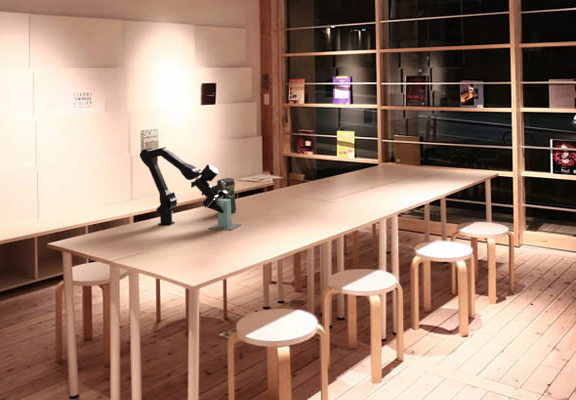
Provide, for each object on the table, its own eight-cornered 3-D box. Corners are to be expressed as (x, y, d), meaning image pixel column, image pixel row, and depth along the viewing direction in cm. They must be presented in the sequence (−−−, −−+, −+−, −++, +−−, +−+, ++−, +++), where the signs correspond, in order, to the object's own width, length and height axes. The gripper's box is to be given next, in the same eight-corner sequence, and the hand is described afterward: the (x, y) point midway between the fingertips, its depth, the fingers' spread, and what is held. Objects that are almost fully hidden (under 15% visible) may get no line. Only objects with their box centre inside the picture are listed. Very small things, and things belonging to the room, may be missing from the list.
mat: (231, 230, 336) (231, 229, 336) (208, 228, 340) (208, 228, 340) (241, 224, 347) (241, 224, 347) (218, 223, 351) (218, 222, 351)
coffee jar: (227, 210, 384) (226, 176, 381) (238, 211, 380) (237, 177, 376) (215, 213, 377) (214, 179, 373) (226, 214, 372) (225, 180, 369)
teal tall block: (218, 226, 342) (217, 200, 339) (222, 224, 346) (221, 198, 344) (227, 227, 340) (226, 201, 338) (231, 225, 345) (230, 199, 342)
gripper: (207, 179, 331) (230, 203, 330) (223, 173, 349) (244, 196, 347) (193, 195, 335) (215, 219, 334) (209, 188, 353) (230, 211, 351)
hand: (227, 210), depth 341 cm, fingers open, 9 cm apart
